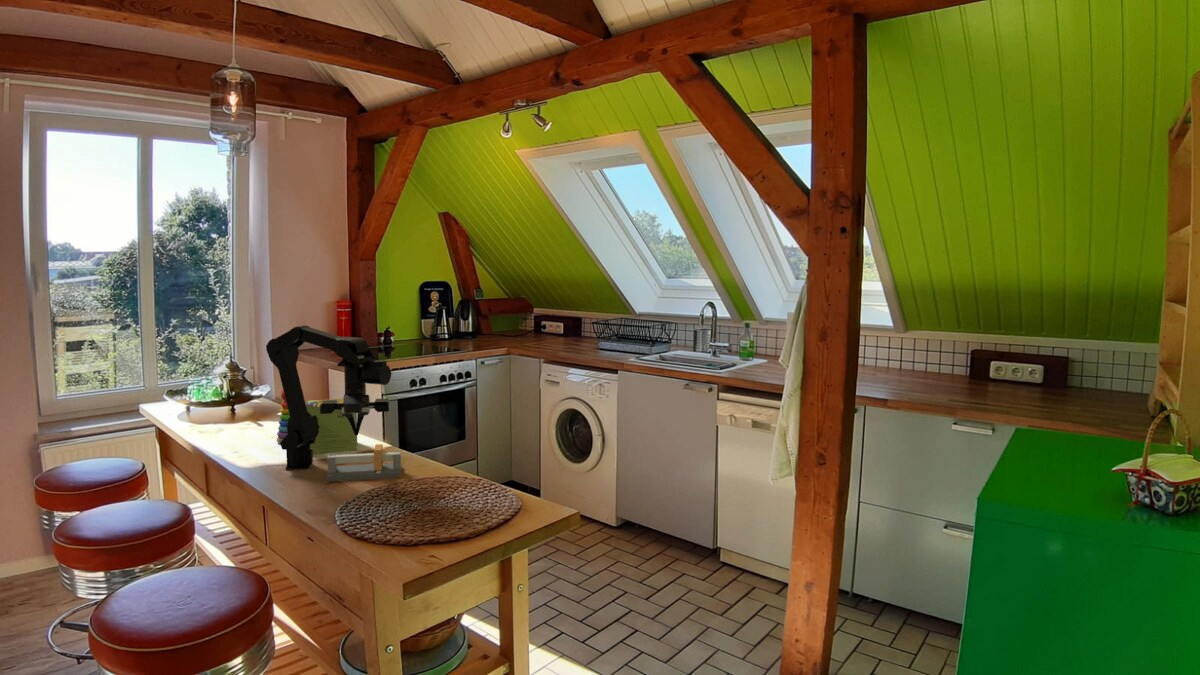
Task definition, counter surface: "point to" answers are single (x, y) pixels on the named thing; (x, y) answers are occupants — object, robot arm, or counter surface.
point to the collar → (378, 457)
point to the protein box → (332, 430)
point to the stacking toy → (283, 420)
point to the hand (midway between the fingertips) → (356, 434)
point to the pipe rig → (363, 467)
